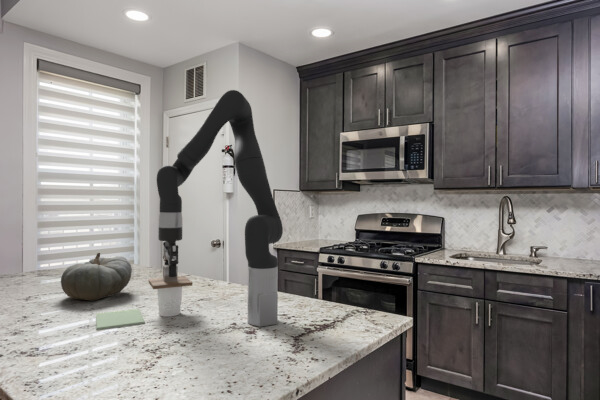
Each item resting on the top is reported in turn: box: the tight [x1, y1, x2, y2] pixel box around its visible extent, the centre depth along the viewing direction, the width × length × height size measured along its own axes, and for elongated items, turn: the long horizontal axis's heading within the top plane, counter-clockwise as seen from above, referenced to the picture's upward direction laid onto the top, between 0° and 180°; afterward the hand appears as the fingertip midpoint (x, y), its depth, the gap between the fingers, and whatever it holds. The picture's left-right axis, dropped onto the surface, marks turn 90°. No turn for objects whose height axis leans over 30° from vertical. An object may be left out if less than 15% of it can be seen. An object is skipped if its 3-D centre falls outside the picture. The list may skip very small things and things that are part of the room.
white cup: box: [157, 286, 183, 318], centre depth 126 cm, size 8×8×10 cm
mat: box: [95, 308, 146, 331], centre depth 120 cm, size 16×13×1 cm
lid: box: [147, 264, 193, 290], centre depth 127 cm, size 12×12×6 cm
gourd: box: [60, 252, 133, 302], centre depth 149 cm, size 25×25×17 cm
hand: (170, 274), depth 127 cm, fingers open, 8 cm apart
